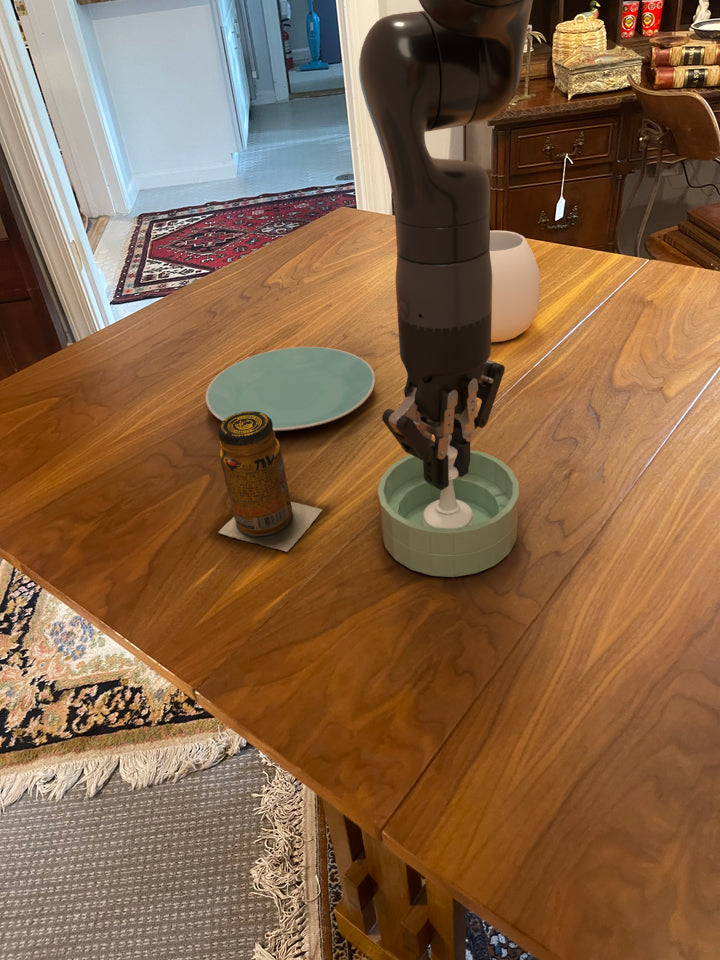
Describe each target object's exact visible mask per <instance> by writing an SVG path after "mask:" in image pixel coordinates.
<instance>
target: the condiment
mask: <svg viewBox="0 0 720 960" xmlns="http://www.w3.org/2000/svg"><path fill="white" fill-rule="evenodd" d="M217 434H218V437H219V445H220V447H221V448H220V451H219V459H220V465H221V469H222V472H223V475H224V476H223V477H224V482H225V486H226V491H227V493H228V497H229V502H230V506H231V509H232V514H233V517H232V518H231V519H230V520H229V521H228V522H226V523H225V525H223V526H222V528H221V529H219V531H218V532H217V533H218V534H221V535H224V536H227V537H229V538H233V539H237V540H239V541H245V542H247V543H252V544H258V545H260V546H263V547H267V548H270V549H273V550H275V549H276V550H279V551H283V552H286V553H288V552H289V550H290V549H291V548H292V547H293V546H294V545H295V544H296V543H297V542H298V540H299V539H301V537H302V536H303V535H304V534H305V533H306V531H307V530H308V529H309V528H310V526H311V525H312V524H313V523H314V521H315V520H316V519H317V518H318V516H319V515H320V514H321V512H322V511H323V509H322V508H318V507H315V506H311V505H308V504H303V503H300V502H294V501H291V496H290V491H289V487H288V485H289V484H288V481H287V475H286V469H285V463H284V458H283V453H282V452H283V451H282V448H281V443H280V442H279V440H278V438H276V431H274V430H273V424H272V420H271V419H270V418H269V417H268V416H267V415H266V414H264V413H261V412H255V411H246V412H240V413H236V414H234V415H232V416H230V417H228V418H226V419H225V420H224V421H220V424H219V426H218V432H217Z"/></svg>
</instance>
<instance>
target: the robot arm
mask: <svg viewBox="0 0 720 960" xmlns="http://www.w3.org/2000/svg"><path fill="white" fill-rule="evenodd" d="M418 2H419V5H420V6H421V7H422V9H423V10H419V11H409V12H402V13H401V12H400V13H393V14H390V15H387V16H384V17H382V18H380V19H378V20H376V22H375V23H374V24H373V25H371V28H370V29H369V30H368V32H367V34H366V36H365V39H364V40H363V44H362V46H361V50H360V55H359V60H358V77H359V84H360V88H361V92H362V96H363V99H364V102H365V105H366V108H367V112H368V114H369V118H370V120H371V122H372V126H373V128H374V130H375V134H376V137H377V140H378V143H379V145H380V148H381V152H382V157H383V159H384V164H385V166H386V170H387V174H388V178H389V179H388V180H389V183H390V187H391V194H392V199H393V207H394V208H393V209H394V223H395V237H396V239H395V241H396V268H395V296H396V308H397V309H396V310H397V311H396V312H397V313H396V314H397V327H398V330H397V331H398V342H399V343H398V344H399V355H400V356H399V357H400V360H401V362H402V364H403V366H404V368H405V370H406V374H407V379H406V383H405V385H404V391H403V395H404V399H403V400H402V402H401V403H400V405H398V407H397V408H396V409H395V410H393V409H392V408H387V409H385V410H384V411H383V413H382V416H381V419H382V422H383V423H384V424H385V426H386V427H387V429H388V430H389V431H390V433H391V434H392V435H393V437H394V439H395V440H396V441H397V442H398V444H399V446H401V448H402V450H403V451H404V452H405V453H407V454H408V455H413V456H415V457H416V458H418V459H420V460H422V461H423V469H424V479H425V481H426V482H428V483H429V484H430V485H432V486H434V487H436V488H438V489H439V490H443V489H445V488H446V487H448V486H449V471H448V455H447V451H448V436H449V435H452V439H451V441H450V442H449V443H450V446H452V447H454V448H456V449H457V451H458V454H457V457H456V459H455V462H454V465H453V466H454V467H455V468H457V470H458V473H459V474H458V476H460V477H463V476H464V475H466V474H467V473H468V472H469V464H470V449H471V441H473V439H474V437H475V435H476V429H478V428H481V429H483V428H485V427H486V426H487V424H488V422H489V418H490V415H491V412H492V410H493V406H494V404H495V401H496V397H497V395H498V391H499V388H500V386H501V384H502V381H503V377H504V374H505V371H506V368H505V365H503V364H501V363H498V362H497V361H494V360H491V359H490V356H491V352H492V342H491V320H492V267H491V260H490V247H489V245H490V231H491V182H490V178H489V174H488V172H487V171H486V169H484V167H482V166H481V165H480V164H478V163H475V162H472V161H468V160H462V159H452V158H439V157H433V156H431V155H430V152H429V150H428V147H427V145H426V138H425V137H426V136H425V135H426V134H425V133H427V132H434V131H439V130H445V129H452V128H458V127H464V126H471V125H477V124H481V123H484V122H487V121H490V120H491V119H493V118H496V117H497V116H498V115H499V114H500V113H501V112H503V111H504V110H505V109H506V108H507V107H508V106H509V104H510V103H511V102H512V100H513V99H514V98H515V96H516V94H517V91H518V89H519V85H520V82H521V81H520V80H521V76H522V71H523V60H524V52H525V44H526V38H527V32H528V27H529V22H530V16H531V12H532V8H533V7H532V6H533V2H534V0H418ZM478 399H479V400H480V401H481V403H480V407H479V409H478ZM433 436H434V440H432V437H433Z"/></svg>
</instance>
